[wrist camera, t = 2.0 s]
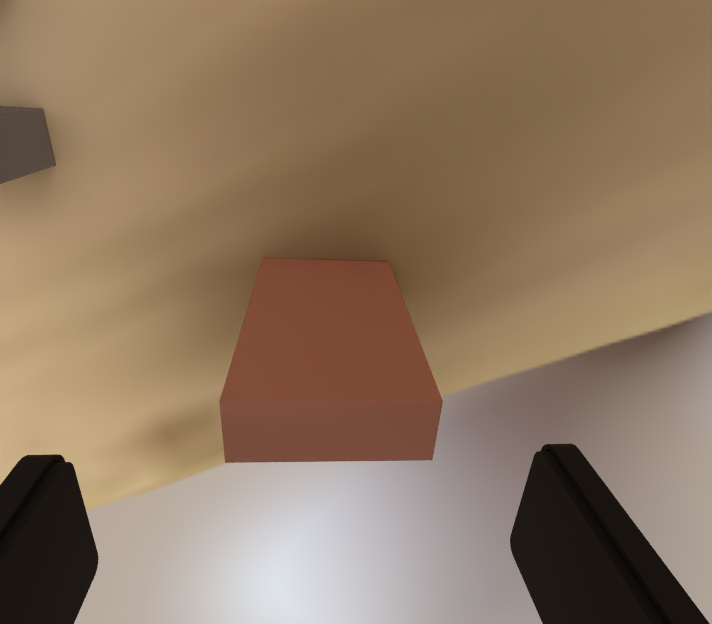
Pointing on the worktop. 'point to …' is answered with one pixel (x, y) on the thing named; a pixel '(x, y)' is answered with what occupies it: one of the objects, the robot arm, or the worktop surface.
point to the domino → (23, 142)
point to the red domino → (328, 369)
